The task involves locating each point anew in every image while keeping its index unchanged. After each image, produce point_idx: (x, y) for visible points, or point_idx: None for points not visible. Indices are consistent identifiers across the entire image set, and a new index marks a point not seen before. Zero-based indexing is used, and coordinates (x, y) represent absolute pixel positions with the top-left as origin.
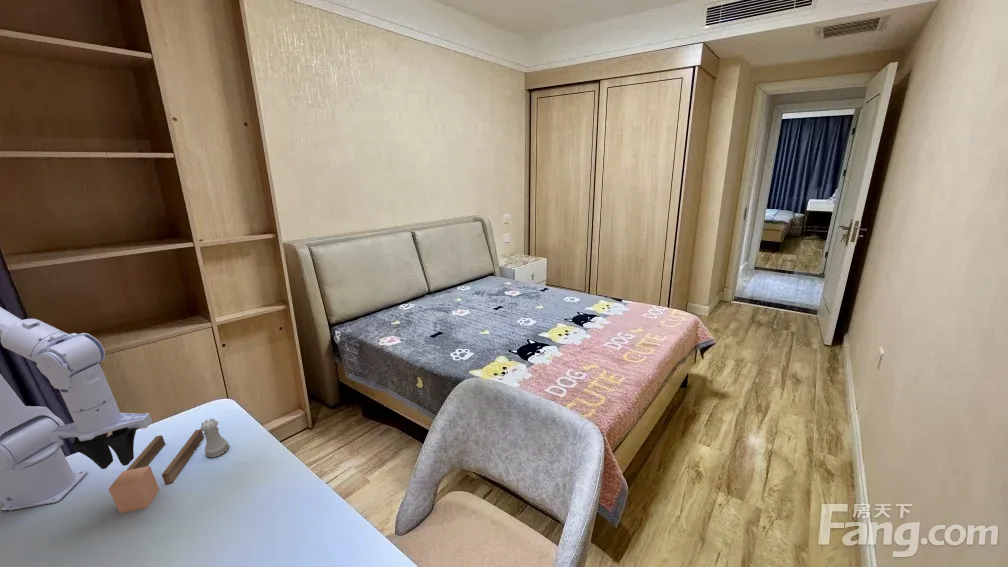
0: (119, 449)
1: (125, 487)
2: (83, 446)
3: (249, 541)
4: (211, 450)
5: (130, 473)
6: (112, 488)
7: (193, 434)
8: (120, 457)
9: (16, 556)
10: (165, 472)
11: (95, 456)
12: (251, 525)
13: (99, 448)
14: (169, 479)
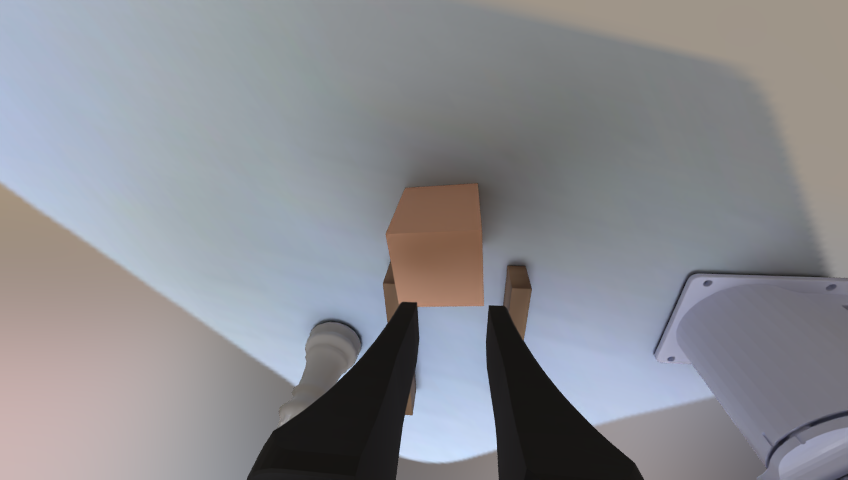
0: (357, 377)
1: (427, 227)
2: (529, 468)
3: None
4: (325, 339)
5: (446, 288)
6: (468, 229)
7: (408, 403)
8: (392, 334)
9: (733, 70)
10: (395, 290)
11: (505, 368)
12: (13, 26)
13: (503, 417)
14: (390, 270)
